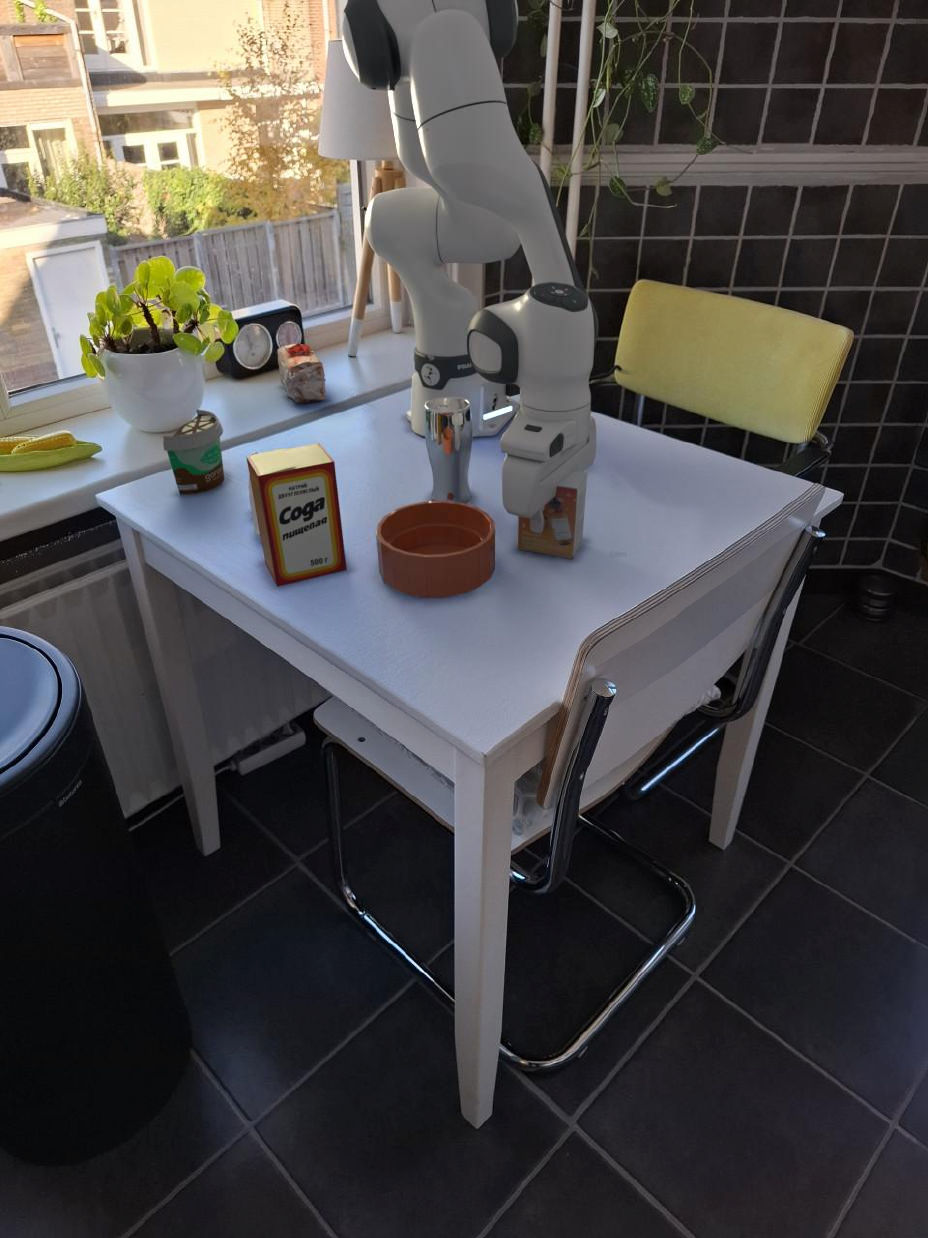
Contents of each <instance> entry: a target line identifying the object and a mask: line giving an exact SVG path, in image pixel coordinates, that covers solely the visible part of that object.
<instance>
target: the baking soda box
mask: <svg viewBox="0 0 928 1238" xmlns="http://www.w3.org/2000/svg"><path fill="white" fill-rule="evenodd" d="M246 462H247V468H248V469H247V470H248V473H249V474H250V480H251V486H252V491H253V497H254V503H255V508H256V514H257V520H258V525H259V531H260V537H259V538H260V542H261V548H262V553H263V558H264V564H265V566H266V568H267V571H268V572H269V574H270V576H271V579H272V581H273V582H274V584H275V586H276V587H278V588H279V587H282V586H287V585H290V584H295V583H299V582H305V581H308V580H310V579H316V578H319V577H324V576H328V575H333V574H337V573H341V572H346V571H348V570H347V569H348V567H347V560H346V551H345V541H344V533H343V526H342V517H341V508H340V499H339V490H338V482H337V481H338V480H337V473H336V466H335V460H334V459H333V458H332V457H331V455H330V454H329V453H328V452H327V450H326V449H325V448H324V447H323V446H322V444H321V443H320V442H317V443H312V444H308V445H306V444H305V445H301V446H296V447H289V448H284V447H280V448H277V449H276V448H275V449H274V450H268V451H264V452H260V453H258V454H255V455H252V454H251V455H247V456H246Z"/></svg>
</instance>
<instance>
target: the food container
mask: <svg viewBox="0 0 928 1238" xmlns="http://www.w3.org/2000/svg"><path fill="white" fill-rule="evenodd" d="M223 433H224V428H223V426H222V423H221V421H220V419H219V418H218V416H217V415H216V414H215V413H213V412H211V411H209V410H204V409H196V416H194V418H193V419H192V420H190V421H189V422H186V423H184V424H182V425H181V426H180V427H179V428H178V429H177V430H176V432H175V433H174V434H173V435H162V439H163V441H162V442H163V450H164V451H165V452H167V455H168V459H169V462H170V466H171V469H172V473H173V476H174V479H175V483H176V486H177V489H178V493H179V495H195V494H201V493H205V492H209V491H211V490H214V489H216V488H218V487H219V486H221V485H222V484H223V483H224V481H225V472H224V464H223V455H222V454H223V453H222V445H221V436H222V435H223Z"/></svg>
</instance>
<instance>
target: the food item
mask: <svg viewBox="0 0 928 1238" xmlns="http://www.w3.org/2000/svg"><path fill="white" fill-rule="evenodd" d="M314 353H315V352H314V351H313V350H312V349H311V347H310V345H308V344H301V343H299V342H297V343H290V344H287V345H284V346H281V347H279V348H278V349H277V363H278V371H279V377H280V382H281V384H282V385H283V387H284V388H285V390H286V397H288V398H290V399H292V400H293V401H294V402H295V403H299V404H307V403H308V404H309V403H316V402H322V401H325V400H326V378H325V376H326V375H325V369H324V365H323V362H322V361H320V359H319V358H318V357H317V356H316V355H315V354H314Z"/></svg>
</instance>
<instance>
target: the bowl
mask: <svg viewBox="0 0 928 1238" xmlns="http://www.w3.org/2000/svg"><path fill="white" fill-rule="evenodd" d="M375 537H376V538H375V539H376V548H377V549H376V550H377V559H378V571H379V575H380V577H381V578H382V581H383V582H384V583H385V584H386V585H388V586H389V587H390V588H391V589H392V590H394V591H396V592H400V593H402V594H405V595H407V596H412V597H418V598H425V599H440V598H441V599H442V598H450V597H454V596H460V595H464V594H467V593H470V592H471V591H474V590H476V589H478V588H480V587H482V586H483V585H484V584H486V583H487V582H488V581H489V580H491V578H492V576H493V575H494V573H495V571H496V524H495V521H494V519H493V518H492V516H490V514H489V513H488V512H486V511H484V510H483V509H481V508H480V507H477V506H474V505H472V504H469V503H466V504H465V503H460V502H451V501H432V500H427V501H422V502H421V501H420V502H415V503H410V504H407V505H404V506H401V507H398V508H396V509H394V510H392V511H390V512H389V513H387V514H385V515H384V516H383V517H382V518H381V519H380V520H379V522H378V523H377V525H376V530H375Z"/></svg>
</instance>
